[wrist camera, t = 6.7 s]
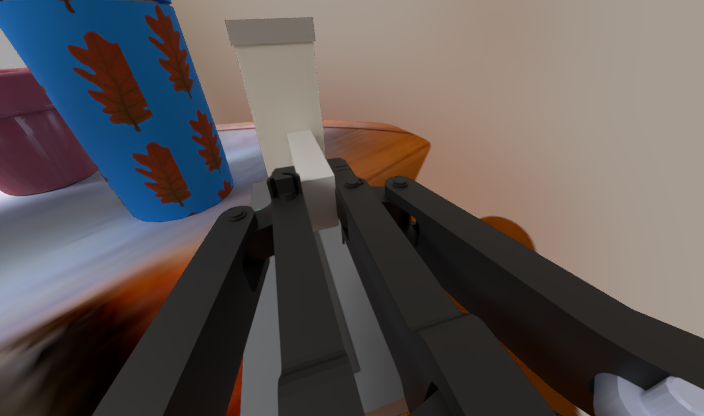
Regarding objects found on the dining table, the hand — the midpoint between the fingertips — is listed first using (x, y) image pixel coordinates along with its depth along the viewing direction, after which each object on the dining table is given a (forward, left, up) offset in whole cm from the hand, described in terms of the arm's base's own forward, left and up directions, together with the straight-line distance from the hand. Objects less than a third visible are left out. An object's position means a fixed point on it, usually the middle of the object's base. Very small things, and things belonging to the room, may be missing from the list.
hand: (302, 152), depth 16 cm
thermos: (-18, -6, -9) cm, 21 cm away
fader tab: (-2, 0, -6) cm, 6 cm away
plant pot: (-36, -18, -9) cm, 41 cm away
